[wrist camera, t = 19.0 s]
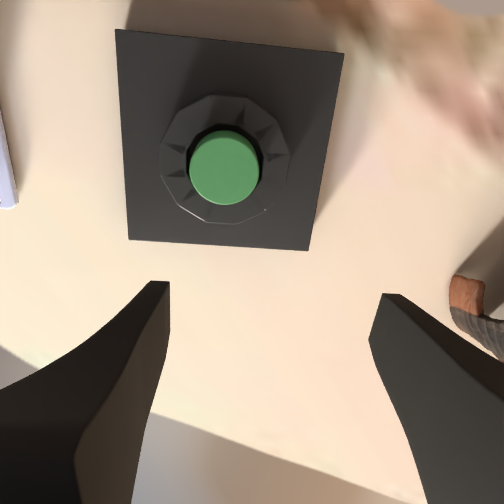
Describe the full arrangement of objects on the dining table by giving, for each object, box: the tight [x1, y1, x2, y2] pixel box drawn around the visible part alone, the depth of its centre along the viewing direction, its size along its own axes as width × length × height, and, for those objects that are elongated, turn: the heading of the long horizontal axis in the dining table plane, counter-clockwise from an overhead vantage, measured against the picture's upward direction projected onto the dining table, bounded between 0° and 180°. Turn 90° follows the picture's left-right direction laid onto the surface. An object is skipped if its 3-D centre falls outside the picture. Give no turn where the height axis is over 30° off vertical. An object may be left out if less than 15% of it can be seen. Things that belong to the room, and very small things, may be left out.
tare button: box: [189, 130, 259, 205], centre depth 17 cm, size 3×3×2 cm
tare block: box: [115, 29, 344, 251], centre depth 19 cm, size 10×10×3 cm
